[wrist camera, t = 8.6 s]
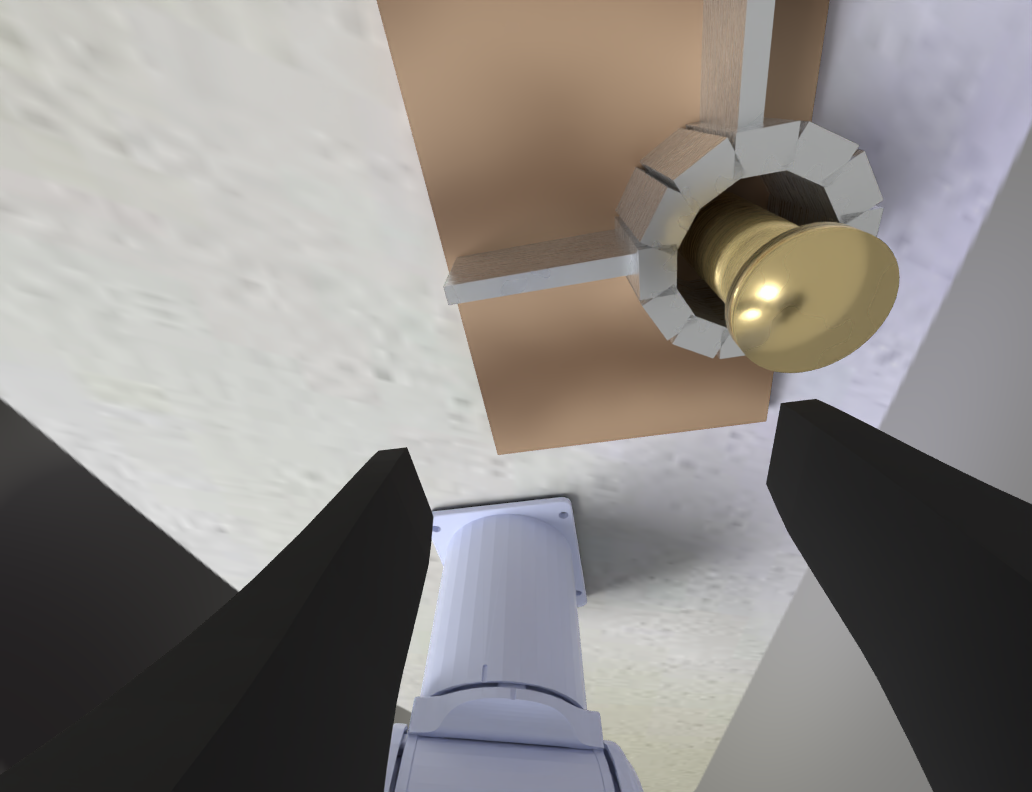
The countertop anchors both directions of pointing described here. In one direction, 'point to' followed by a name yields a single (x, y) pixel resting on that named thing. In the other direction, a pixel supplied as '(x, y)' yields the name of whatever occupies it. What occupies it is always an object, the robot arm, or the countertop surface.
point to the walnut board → (576, 195)
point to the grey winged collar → (696, 192)
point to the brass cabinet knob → (791, 282)
